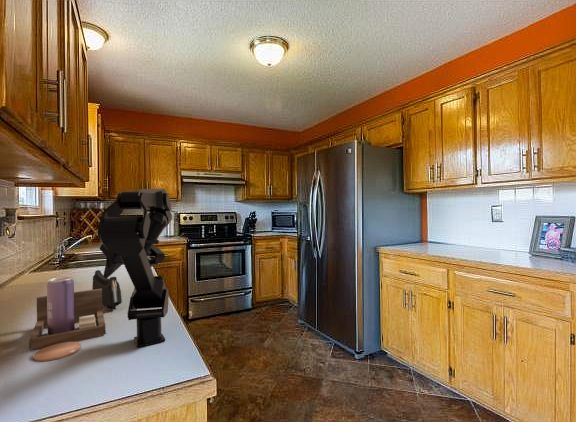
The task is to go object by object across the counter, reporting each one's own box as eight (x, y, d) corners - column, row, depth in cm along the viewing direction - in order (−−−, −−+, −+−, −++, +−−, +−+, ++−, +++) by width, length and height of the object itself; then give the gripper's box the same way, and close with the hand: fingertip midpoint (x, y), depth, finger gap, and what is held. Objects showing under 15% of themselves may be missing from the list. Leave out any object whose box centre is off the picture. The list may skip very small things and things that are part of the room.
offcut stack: (96, 336, 84) (96, 322, 84) (78, 339, 81) (78, 325, 81) (95, 325, 92) (95, 313, 92) (79, 328, 90) (79, 315, 90)
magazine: (90, 273, 127) (107, 258, 106) (99, 271, 129) (117, 257, 108) (94, 315, 123) (111, 309, 102) (103, 314, 125) (122, 307, 104)
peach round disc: (80, 353, 72) (80, 351, 72) (30, 365, 67) (30, 362, 67) (81, 341, 80) (81, 338, 80) (36, 350, 75) (36, 347, 75)
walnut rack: (105, 335, 83) (105, 301, 83) (28, 351, 74) (27, 313, 74) (102, 316, 98) (101, 288, 98) (37, 328, 90) (37, 297, 90)
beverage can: (78, 332, 86) (77, 277, 86) (53, 339, 81) (52, 282, 81) (68, 328, 89) (67, 275, 89) (43, 335, 84) (42, 280, 84)
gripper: (155, 220, 99) (128, 260, 99) (104, 210, 81) (72, 259, 82) (177, 240, 95) (149, 282, 95) (129, 234, 77) (95, 285, 78)
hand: (118, 277), depth 88 cm, fingers open, 9 cm apart
